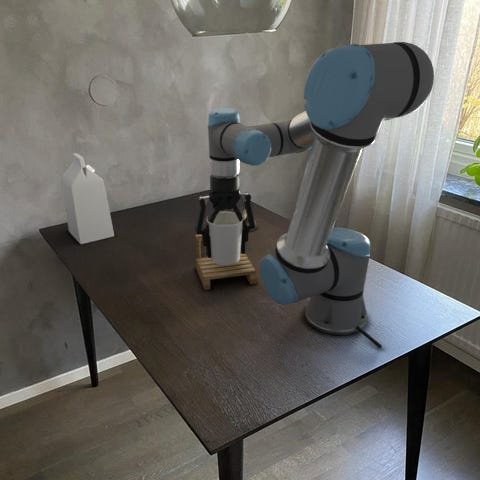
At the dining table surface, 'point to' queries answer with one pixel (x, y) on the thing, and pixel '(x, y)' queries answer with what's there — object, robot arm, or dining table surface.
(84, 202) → the milk
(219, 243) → the candle holder
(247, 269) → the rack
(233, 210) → the eagle figurine
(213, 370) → the dining table surface
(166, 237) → the dining table surface
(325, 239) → the robot arm
